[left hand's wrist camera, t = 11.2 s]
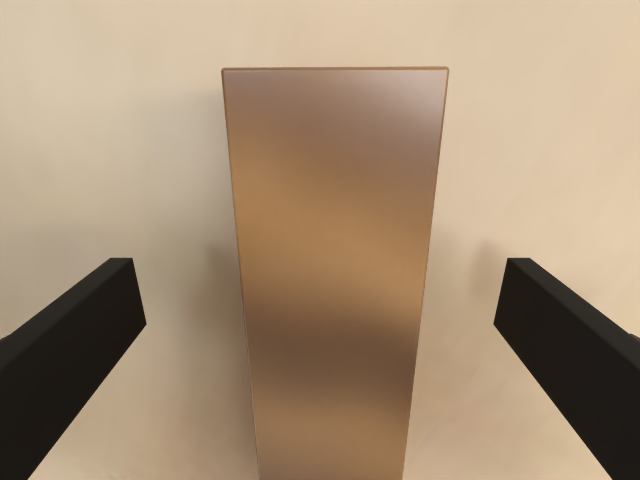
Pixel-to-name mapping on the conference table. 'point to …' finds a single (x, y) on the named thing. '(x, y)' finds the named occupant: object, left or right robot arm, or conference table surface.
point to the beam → (333, 257)
